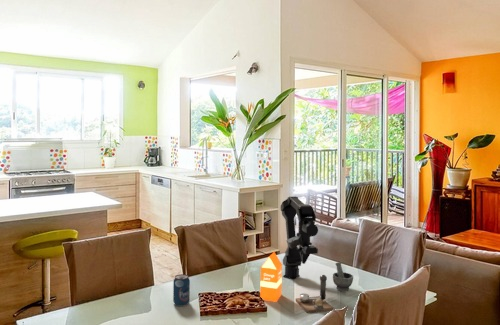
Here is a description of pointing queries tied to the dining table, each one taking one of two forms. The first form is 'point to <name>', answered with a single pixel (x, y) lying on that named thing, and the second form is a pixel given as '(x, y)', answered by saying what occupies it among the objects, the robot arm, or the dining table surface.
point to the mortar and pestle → (342, 279)
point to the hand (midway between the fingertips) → (303, 263)
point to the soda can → (181, 290)
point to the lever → (323, 278)
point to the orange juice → (271, 279)
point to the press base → (315, 305)
